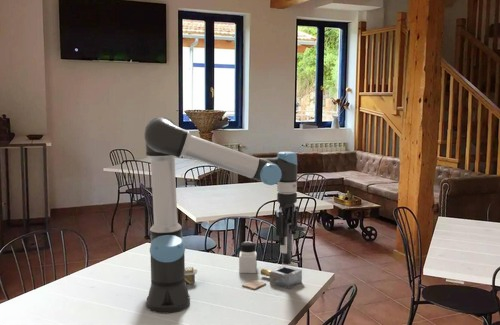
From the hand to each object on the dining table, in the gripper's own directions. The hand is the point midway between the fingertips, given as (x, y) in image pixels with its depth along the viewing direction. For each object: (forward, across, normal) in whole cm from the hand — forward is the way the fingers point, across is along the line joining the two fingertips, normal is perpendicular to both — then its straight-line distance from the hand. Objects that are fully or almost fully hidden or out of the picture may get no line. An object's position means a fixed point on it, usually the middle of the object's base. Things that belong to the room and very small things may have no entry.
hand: (286, 251), depth 197 cm
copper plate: (+13, -10, +8) cm, 18 cm away
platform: (+13, -25, +30) cm, 42 cm away
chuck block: (+13, 0, +4) cm, 13 cm away
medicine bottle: (+13, +2, +21) cm, 24 cm away
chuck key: (+5, 0, -3) cm, 6 cm away
